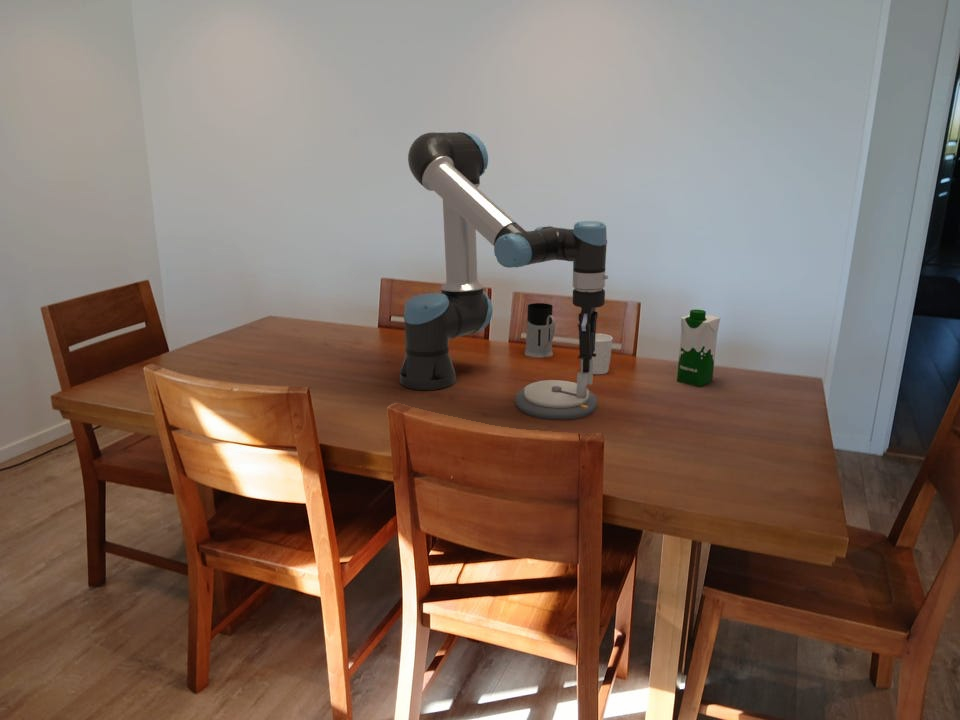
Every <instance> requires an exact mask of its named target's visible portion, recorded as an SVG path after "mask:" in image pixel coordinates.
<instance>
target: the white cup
mask: <svg viewBox="0 0 960 720" xmlns="http://www.w3.org/2000/svg"><path fill="white" fill-rule="evenodd" d="M612 345H613V336H612V335H609V334H605V333H596V336H595V351H594V352H593V353H594V354H596V357H593V375H605V374H607V373H609V370H610V369H609V367H610V364H611V363H610V362H611V356H612V348H613V347H612Z"/></svg>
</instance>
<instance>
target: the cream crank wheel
mask: <svg viewBox="0 0 960 720" xmlns="http://www.w3.org/2000/svg"><path fill="white" fill-rule="evenodd" d="M524 388H525V389H524ZM524 388H523V389H524V397H525V399H526V400H527V401H529V402H530V403H533V404H535V405H539V406H543V407H550V408H570V407H576V406H580V405H582V404H584V403H586V402H587V401H588V400H589V391H590V390H589V389H588V384H587V373H586V372H581V371H578V372H577V374H576V382H573V381H567V380H561V379H560V380H557V379H548V380H545V379H544V380H538V381H535V382H531V383H529V384H528V385H526V386H524Z"/></svg>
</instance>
